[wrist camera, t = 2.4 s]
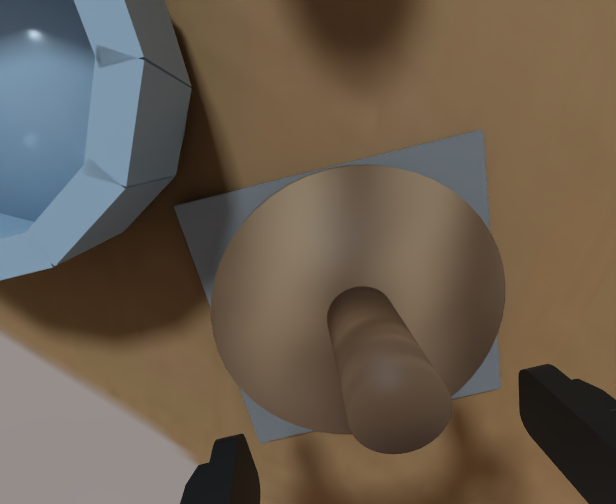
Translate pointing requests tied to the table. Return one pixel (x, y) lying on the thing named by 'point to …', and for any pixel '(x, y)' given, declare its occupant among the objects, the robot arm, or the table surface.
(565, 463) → the robot arm
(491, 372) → the mat
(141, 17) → the bowl
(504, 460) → the table surface
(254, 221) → the lid
